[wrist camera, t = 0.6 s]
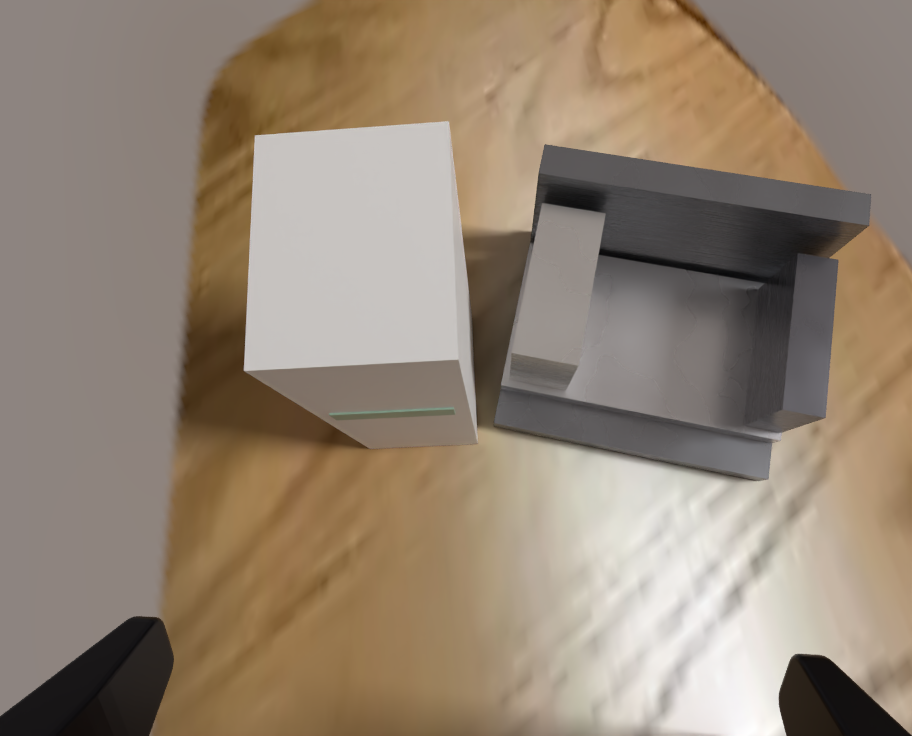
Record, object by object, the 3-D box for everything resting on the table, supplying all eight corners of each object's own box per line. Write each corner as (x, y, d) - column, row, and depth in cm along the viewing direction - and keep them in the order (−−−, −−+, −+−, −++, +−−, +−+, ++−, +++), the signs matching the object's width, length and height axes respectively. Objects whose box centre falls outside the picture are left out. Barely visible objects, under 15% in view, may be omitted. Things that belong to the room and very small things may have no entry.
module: (477, 445, 23) (458, 361, 11) (369, 450, 23) (243, 373, 12) (471, 314, 24) (448, 119, 13) (369, 319, 25) (255, 133, 13)
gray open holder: (758, 481, 22) (851, 464, 16) (493, 426, 23) (492, 392, 17) (780, 272, 24) (871, 191, 18) (534, 231, 25) (545, 141, 19)
